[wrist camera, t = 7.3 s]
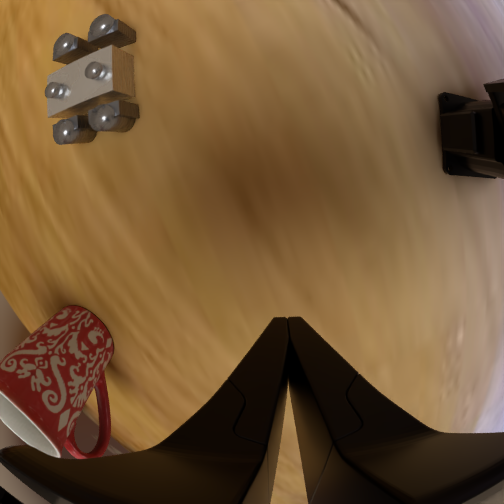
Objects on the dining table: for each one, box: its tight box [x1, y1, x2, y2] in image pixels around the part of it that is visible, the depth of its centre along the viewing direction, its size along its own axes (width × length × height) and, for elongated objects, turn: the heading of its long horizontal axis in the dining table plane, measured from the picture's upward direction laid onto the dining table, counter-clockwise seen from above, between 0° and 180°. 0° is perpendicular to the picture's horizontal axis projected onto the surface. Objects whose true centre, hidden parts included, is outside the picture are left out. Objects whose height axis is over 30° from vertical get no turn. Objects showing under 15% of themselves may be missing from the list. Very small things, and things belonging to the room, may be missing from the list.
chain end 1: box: [53, 33, 98, 145], centre depth 15 cm, size 2×9×3 cm, turn 6°
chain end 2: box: [88, 14, 139, 132], centre depth 15 cm, size 2×9×3 cm, turn 6°
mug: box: [0, 305, 114, 459], centre depth 19 cm, size 13×9×14 cm
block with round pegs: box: [45, 45, 135, 118], centre depth 15 cm, size 6×4×4 cm, turn 96°
